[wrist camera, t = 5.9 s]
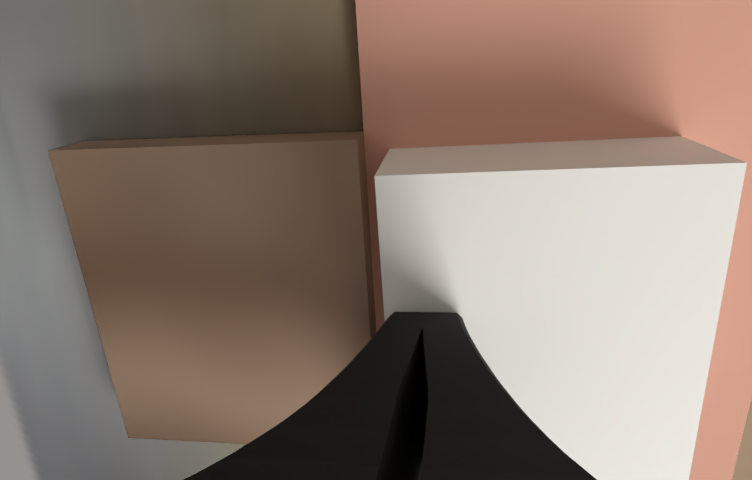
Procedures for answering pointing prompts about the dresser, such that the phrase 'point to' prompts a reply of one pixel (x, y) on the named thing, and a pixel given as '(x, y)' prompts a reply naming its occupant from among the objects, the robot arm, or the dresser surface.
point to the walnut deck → (222, 273)
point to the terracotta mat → (576, 117)
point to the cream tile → (574, 280)
